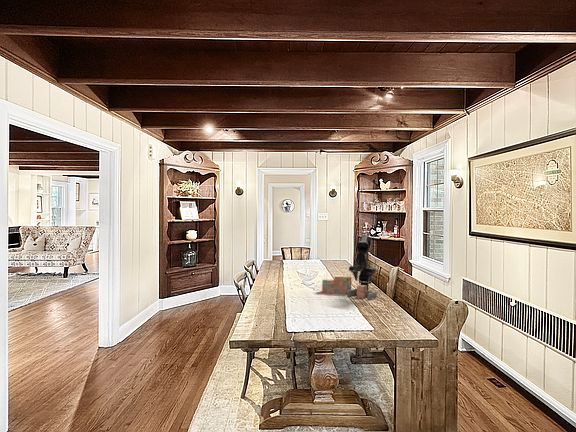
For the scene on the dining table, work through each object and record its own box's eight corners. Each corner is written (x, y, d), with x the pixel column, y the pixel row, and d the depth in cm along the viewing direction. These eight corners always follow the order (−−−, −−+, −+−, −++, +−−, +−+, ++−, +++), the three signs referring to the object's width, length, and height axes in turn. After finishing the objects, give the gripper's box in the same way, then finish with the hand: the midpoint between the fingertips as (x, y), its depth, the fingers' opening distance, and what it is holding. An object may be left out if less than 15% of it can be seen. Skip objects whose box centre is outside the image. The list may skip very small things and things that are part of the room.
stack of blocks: (322, 292, 336) (322, 275, 336) (322, 291, 343) (322, 274, 342) (351, 293, 334) (351, 276, 334) (350, 292, 341) (351, 275, 340)
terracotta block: (360, 296, 325) (360, 285, 325) (366, 297, 322) (366, 285, 322) (356, 297, 321) (357, 285, 321) (362, 298, 318) (363, 286, 318)
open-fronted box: (355, 294, 332) (355, 288, 331) (376, 297, 321) (376, 291, 321) (347, 296, 323) (347, 290, 323) (368, 299, 312) (368, 294, 312)
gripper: (344, 259, 321) (344, 281, 321) (368, 261, 309) (367, 284, 309) (353, 258, 329) (352, 279, 330) (376, 260, 317) (375, 282, 318)
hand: (361, 281), depth 321 cm, fingers open, 9 cm apart
